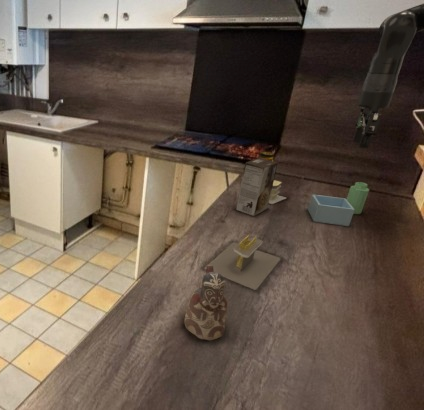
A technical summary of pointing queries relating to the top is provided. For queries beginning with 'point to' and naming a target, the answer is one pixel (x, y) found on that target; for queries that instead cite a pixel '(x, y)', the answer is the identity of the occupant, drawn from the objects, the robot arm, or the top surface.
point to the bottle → (357, 196)
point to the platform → (244, 263)
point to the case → (330, 210)
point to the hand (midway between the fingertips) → (359, 145)
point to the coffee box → (256, 186)
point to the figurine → (207, 307)
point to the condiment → (266, 155)
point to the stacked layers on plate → (275, 193)
